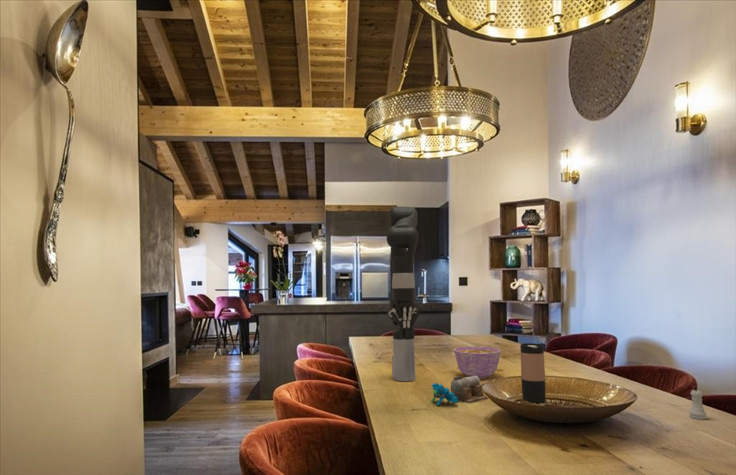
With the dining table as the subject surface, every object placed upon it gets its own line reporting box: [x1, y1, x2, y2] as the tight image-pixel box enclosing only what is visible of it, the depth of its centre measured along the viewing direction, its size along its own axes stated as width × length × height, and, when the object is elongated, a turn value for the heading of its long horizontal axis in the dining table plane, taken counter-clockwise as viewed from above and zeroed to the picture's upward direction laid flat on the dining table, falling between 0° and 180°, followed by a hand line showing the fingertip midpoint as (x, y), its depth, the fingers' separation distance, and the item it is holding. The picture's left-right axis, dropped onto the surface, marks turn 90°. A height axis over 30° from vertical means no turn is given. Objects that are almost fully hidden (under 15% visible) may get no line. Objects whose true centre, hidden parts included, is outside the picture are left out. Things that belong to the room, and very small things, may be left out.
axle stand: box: [450, 375, 489, 404], centre depth 169 cm, size 12×10×8 cm
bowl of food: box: [453, 346, 502, 380], centre depth 205 cm, size 20×20×12 cm
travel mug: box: [520, 342, 546, 404], centre depth 160 cm, size 8×8×20 cm
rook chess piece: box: [688, 389, 708, 421], centre depth 143 cm, size 4×4×8 cm
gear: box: [430, 382, 459, 407], centre depth 161 cm, size 11×6×10 cm
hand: (404, 339), depth 157 cm, fingers closed
